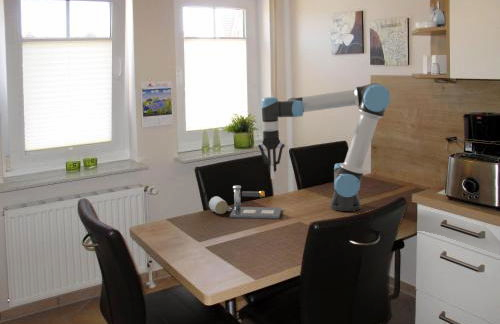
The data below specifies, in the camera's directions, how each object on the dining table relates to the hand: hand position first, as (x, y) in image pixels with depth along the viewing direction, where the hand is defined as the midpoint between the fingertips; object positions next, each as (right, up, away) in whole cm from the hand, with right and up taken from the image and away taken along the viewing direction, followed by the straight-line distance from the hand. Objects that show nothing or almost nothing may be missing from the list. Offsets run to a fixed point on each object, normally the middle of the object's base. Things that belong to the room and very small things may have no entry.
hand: (272, 178), depth 252 cm
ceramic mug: (-26, -18, +9) cm, 32 cm away
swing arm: (-9, -9, +8) cm, 15 cm away
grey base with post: (-8, -18, +5) cm, 20 cm away
